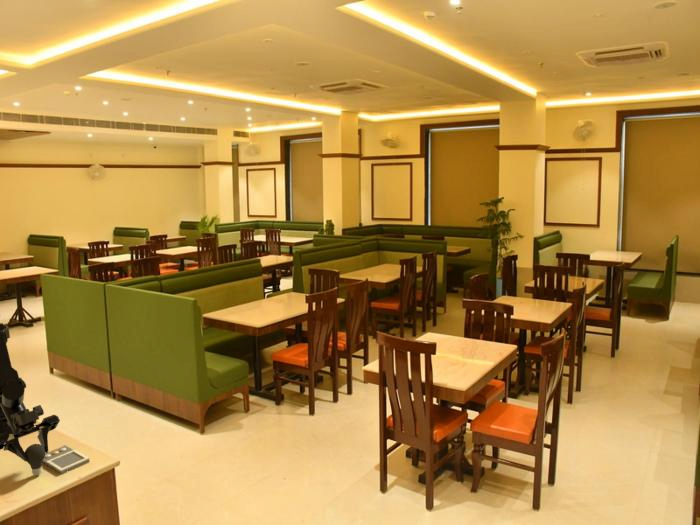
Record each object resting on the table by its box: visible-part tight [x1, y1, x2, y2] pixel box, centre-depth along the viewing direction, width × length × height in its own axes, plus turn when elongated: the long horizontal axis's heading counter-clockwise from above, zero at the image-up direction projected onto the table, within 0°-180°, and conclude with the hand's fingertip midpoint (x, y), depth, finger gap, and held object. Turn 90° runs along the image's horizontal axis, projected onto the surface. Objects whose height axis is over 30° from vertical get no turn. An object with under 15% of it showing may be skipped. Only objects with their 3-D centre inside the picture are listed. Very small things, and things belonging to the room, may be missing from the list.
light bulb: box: [24, 443, 46, 477], centre depth 174 cm, size 6×6×10 cm
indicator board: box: [42, 445, 90, 475], centre depth 183 cm, size 15×9×1 cm, turn 53°
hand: (37, 456), depth 173 cm, fingers closed on light bulb, 6 cm apart
